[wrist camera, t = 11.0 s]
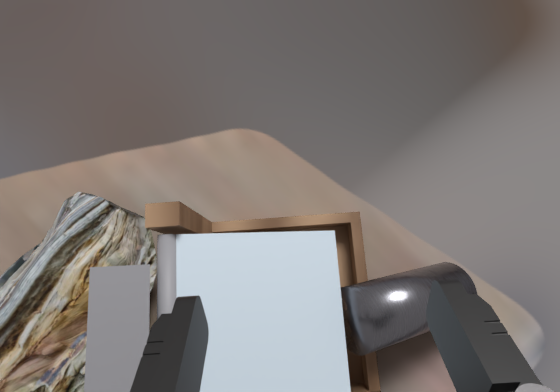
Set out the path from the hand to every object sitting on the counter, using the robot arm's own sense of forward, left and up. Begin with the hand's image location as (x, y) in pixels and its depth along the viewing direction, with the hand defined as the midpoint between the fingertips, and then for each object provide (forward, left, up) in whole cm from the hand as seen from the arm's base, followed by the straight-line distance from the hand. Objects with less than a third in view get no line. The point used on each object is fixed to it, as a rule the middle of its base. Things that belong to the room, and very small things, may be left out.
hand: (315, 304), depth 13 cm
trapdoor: (-5, -1, -11) cm, 12 cm away
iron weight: (+3, -2, -12) cm, 13 cm away
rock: (-20, -2, -19) cm, 28 cm away
